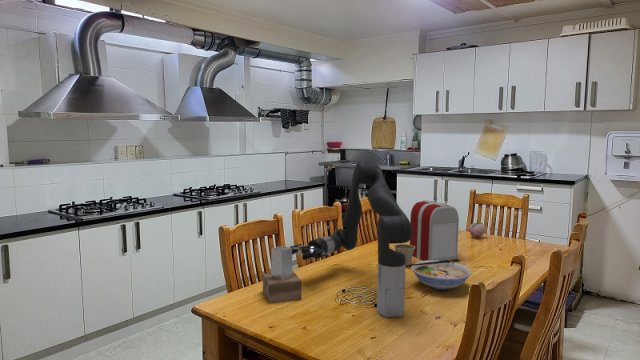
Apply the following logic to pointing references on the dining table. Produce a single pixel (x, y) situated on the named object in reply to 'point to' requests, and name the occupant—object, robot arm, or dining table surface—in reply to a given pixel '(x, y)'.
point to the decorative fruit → (477, 229)
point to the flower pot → (405, 251)
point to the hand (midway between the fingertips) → (294, 255)
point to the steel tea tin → (281, 262)
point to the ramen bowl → (441, 273)
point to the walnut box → (282, 288)
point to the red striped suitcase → (434, 231)
